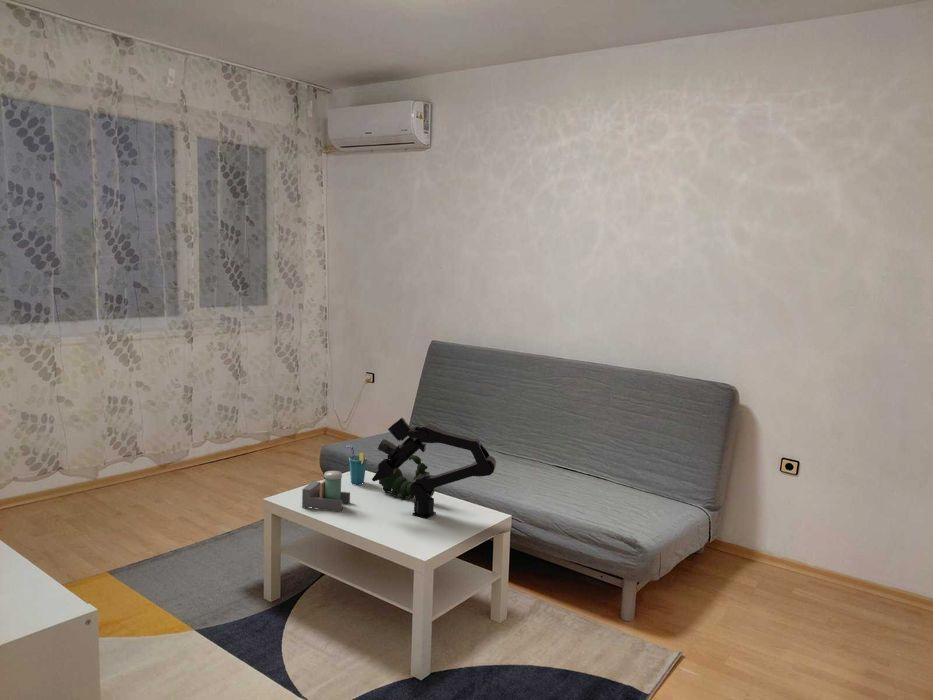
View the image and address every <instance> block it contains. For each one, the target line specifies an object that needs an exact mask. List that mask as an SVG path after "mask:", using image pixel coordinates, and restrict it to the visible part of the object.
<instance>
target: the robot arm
mask: <svg viewBox="0 0 933 700" xmlns="http://www.w3.org/2000/svg"><path fill="white" fill-rule="evenodd" d="M387 430H388V432H389V433H390V434H391V435H392V436H393V438H395V440H397V441H399V442H400V441H401V442H402V441H403V442H402V443H401V444H398V445H396V444H394V443H393V442H390V441H389V440H387V439H384V438H383V439H382V440H381V441H380V443H379V444H378V447H377V450H378V451H380V452H383V453H385V454H386V457H387V458H383V459H382V460H381V461H379V463H378V465H377V467H379V470H378V469H377V471H376V473H375V474H374V475H373V477H372V478H371V480H372V481H373V482H377V481H379V480H380V479H384V478H387V477H391V476H392V475H393V474H394V473H395V472H396V468H399V469H400V467H402V465H403V464H404V463H406V461H408V460H409V458H410V457H411V456H412V455H415V454H416V453H417V452H418V451H421V453H424V452H426V450H427V444H443V445H448V446H451V447H454V448H459V449H462V450H466V451H470V452H471V453H472V455H473V458H474V460H475V461H473V462H472V463H471V464H468V465H464V466H462V467H459V468H455V469H452V470H448V471H445V472H441V473H438V474H436V475H431V474H430V472H429V471H426V472H427V473H425V474H419V476H418V477H417V478H416V479H415V480H414V479H413V481H414V482H413V481H412V482H413V483H412V484H411V487H410V489H411V492H412V493H413V494H414V499H415V500H414V503H413V504H414V505H413V506H414V507H413V512H412V516H416V517H420V518H423V519H428V518H430V517H432V516H435V515H436V513H437V512H435V511H434V510H435V509H434V507H435V497H434V498H433V495H435V491H436V488H438V487H441V486H445V485H448V484H451V483H454V482H458V481H462V480H465V479H468V478H471V477H487V476H488V477H489V476H491V475H492V474H494V471H495V469H496V467H497V460H496V459H495V458H494V457H493V456H492V455H490V453H489V452H488V450H487V449H486V448H485V447H484V445H483V444H482V442H481V440H479V439H477V438H471V437H466V436H463V435H459V434H455V433H453V432H452V433H451V432H447V431H445V430H444V431H443V430H442V429H440V428H439V427H437V426H435V425H432V424H430V423H423V424H422V425H420V426H412V427H411V426H410V425H409V424H408V422H406V420H405V418H403V417H400V418H399V420H397V421H396V422H395V423H393V424H392V425H391V426H390V427H388V428H387Z"/></svg>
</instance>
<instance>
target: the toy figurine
mask: <svg viewBox="0 0 933 700" xmlns="http://www.w3.org/2000/svg"><path fill="white" fill-rule="evenodd" d="M408 460H409V461H411V460H412V461H413V462H414V463H415V465H417V466H416V470H415V475H414V476H413V480H412V482H411V481H409V480H408V479H407V478H406V477H405V476H404V475H403V472H402V471H401V469H400V467H399V468H396V472H395V473H394V474H393V475H392V476H391V477H387V478H384V479H380V480H378V485H380V486H382V490H383V492H384V491H385V493H389V491H390V493H391V496H394V497H395V496H397V495H398V494H400V495H399V498H400V500H403V499H405V498H409V499H410V500H413V499H415V496H414V494H413V493H412V492H411V489H410V487H411V484H412V483H413V482H414V480H415V479H416V478H417V477H418V476H419V474H425V473H427V472H428V471H426V470H427V469H428V468H429V467H428V465H426V464H425V463H423V462H422V460H421V457H420V456H418V455H415V454H413V455H412V456H411V457H410V458H409V459H408ZM376 469H377V471H378V470H379V467H378V466H377V467H376Z"/></svg>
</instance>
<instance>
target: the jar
mask: <svg viewBox="0 0 933 700" xmlns="http://www.w3.org/2000/svg"><path fill="white" fill-rule="evenodd" d="M323 476H324V478H323V479H324V480H325V497H324V498H327V499H338V500H341V492H342V477H343V473H342V471H339V470H327V471H325V472H324V475H323Z"/></svg>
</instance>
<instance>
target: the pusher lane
mask: <svg viewBox="0 0 933 700" xmlns="http://www.w3.org/2000/svg"><path fill="white" fill-rule="evenodd" d="M320 483H321V482H320V481H315V480H312V482H310V483H309V484H307V485H306V486H304V487H303V488H302V492H301V493H302V494H301V495H302V497H301V499H302V500H301V504H302V506H301V508H302V507H312V508H318V509H317V510H322V509H326V511H332V510H336V511H335V512H342V511H343V504H350V503H351V492H349V491H341V500H338V499H327V498H320Z"/></svg>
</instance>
